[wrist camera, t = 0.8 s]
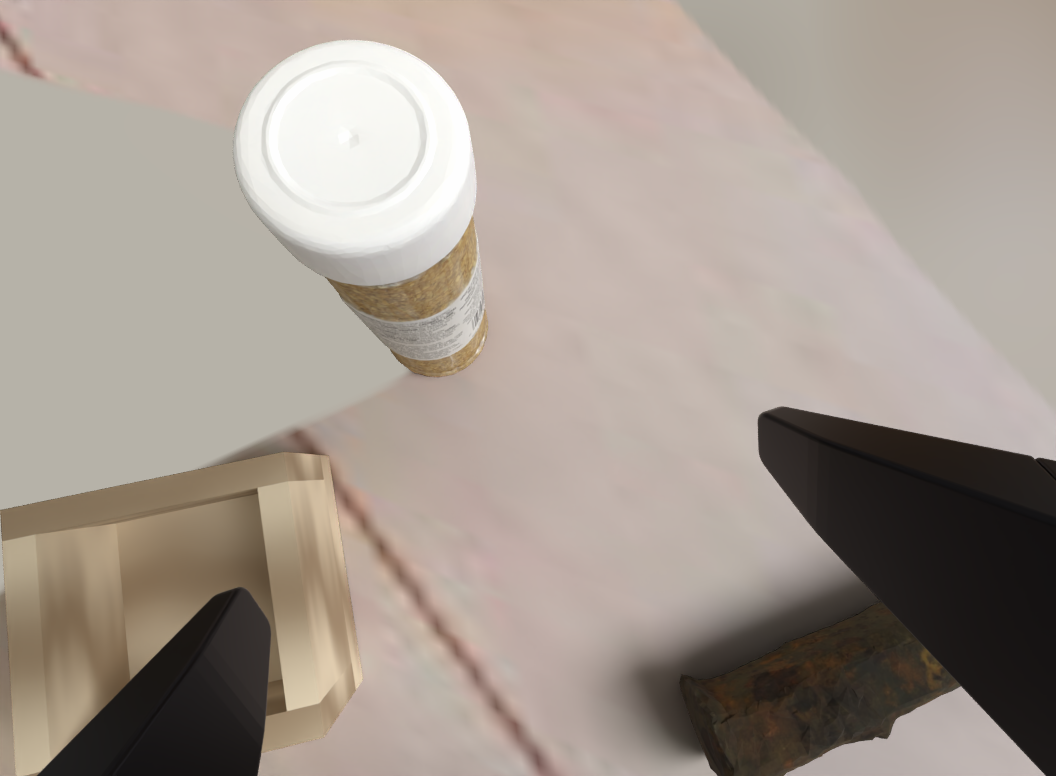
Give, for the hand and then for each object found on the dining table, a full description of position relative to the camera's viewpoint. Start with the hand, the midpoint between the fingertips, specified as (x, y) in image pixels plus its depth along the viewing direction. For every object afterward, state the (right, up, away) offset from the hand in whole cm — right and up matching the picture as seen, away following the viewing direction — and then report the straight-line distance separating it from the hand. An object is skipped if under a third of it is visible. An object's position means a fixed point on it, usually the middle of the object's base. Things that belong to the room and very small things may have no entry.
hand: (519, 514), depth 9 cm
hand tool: (+15, -8, +14) cm, 22 cm away
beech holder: (-12, -6, +12) cm, 18 cm away
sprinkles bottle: (-4, +5, +14) cm, 16 cm away
